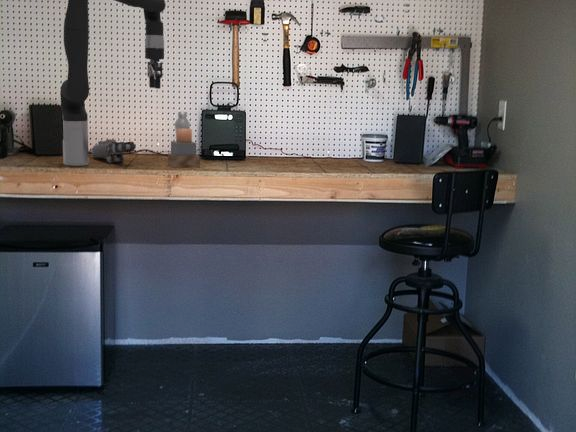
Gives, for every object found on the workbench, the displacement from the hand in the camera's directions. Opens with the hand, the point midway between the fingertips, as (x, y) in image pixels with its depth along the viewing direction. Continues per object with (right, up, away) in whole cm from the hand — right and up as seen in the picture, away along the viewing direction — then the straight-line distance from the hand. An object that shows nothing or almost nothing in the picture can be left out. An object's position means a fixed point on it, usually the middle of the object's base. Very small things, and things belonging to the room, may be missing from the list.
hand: (154, 88), depth 308 cm
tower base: (+12, -32, -4) cm, 35 cm away
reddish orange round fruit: (+13, -22, -6) cm, 26 cm away
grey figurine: (+9, -28, +19) cm, 34 cm away
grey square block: (+12, -27, -5) cm, 30 cm away
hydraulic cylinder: (-18, -30, +3) cm, 35 cm away
